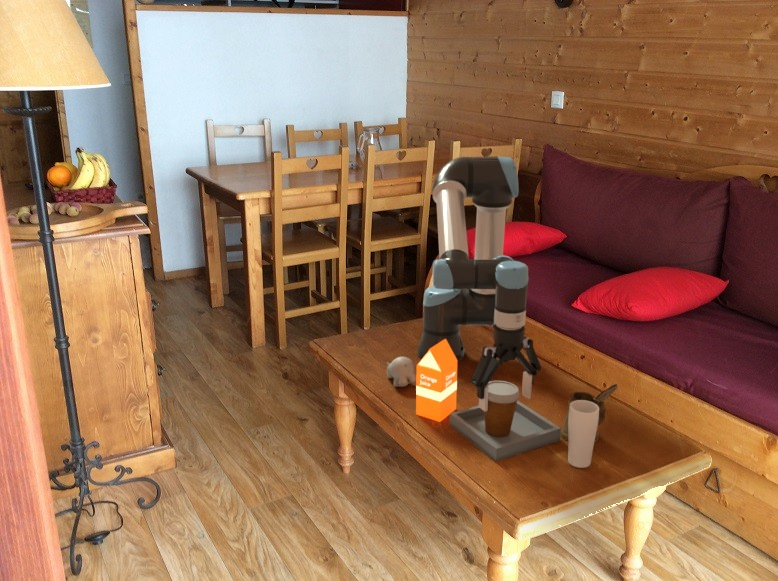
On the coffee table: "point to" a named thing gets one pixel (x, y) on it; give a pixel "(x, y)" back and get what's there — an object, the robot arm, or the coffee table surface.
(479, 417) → the tray
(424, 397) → the orange juice
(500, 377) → the coffee table surface
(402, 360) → the round bodied animal figurine
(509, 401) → the disposable coffee cup
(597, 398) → the wooden mug
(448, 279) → the robot arm
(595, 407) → the drinking glass
